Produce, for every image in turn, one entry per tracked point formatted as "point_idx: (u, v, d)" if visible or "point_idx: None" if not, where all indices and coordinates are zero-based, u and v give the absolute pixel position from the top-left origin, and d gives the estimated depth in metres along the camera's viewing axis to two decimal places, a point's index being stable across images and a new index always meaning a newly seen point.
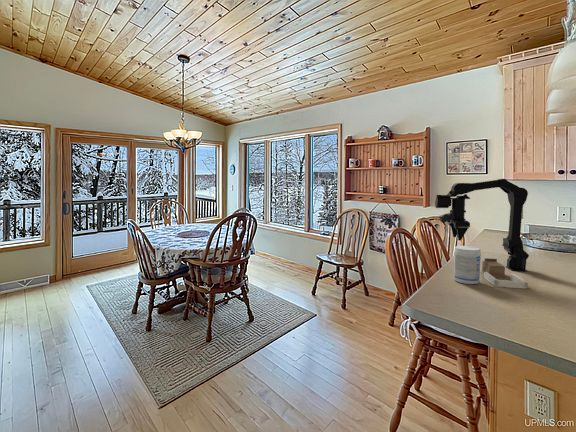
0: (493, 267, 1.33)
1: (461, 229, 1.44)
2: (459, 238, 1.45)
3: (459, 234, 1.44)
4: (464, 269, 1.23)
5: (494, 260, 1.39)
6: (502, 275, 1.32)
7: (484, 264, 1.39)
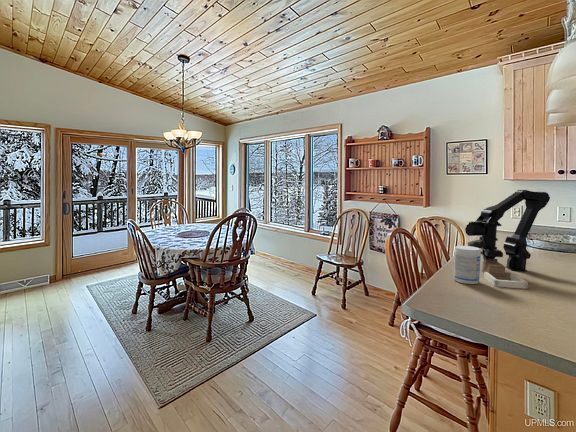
0: (493, 267, 1.32)
1: (489, 256, 1.41)
2: None
3: None
4: (464, 269, 1.23)
5: (494, 260, 1.38)
6: (502, 275, 1.32)
7: (484, 264, 1.39)
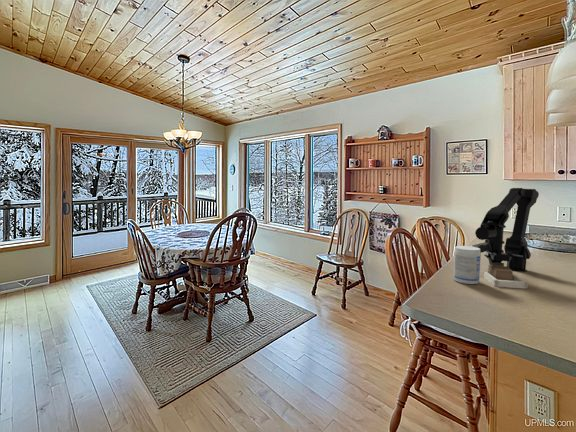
0: (500, 272, 1.25)
1: None
2: None
3: None
4: (464, 269, 1.23)
5: (501, 264, 1.31)
6: (509, 280, 1.25)
7: (490, 268, 1.32)
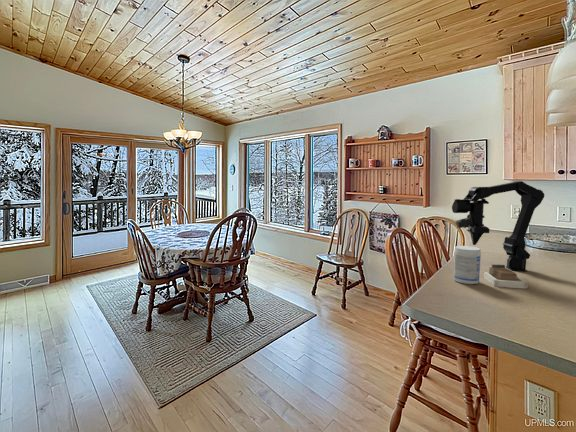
0: (504, 275, 1.22)
1: (477, 234, 1.43)
2: (474, 243, 1.44)
3: (474, 238, 1.43)
4: (464, 269, 1.23)
5: (502, 266, 1.29)
6: None
7: (492, 271, 1.28)
